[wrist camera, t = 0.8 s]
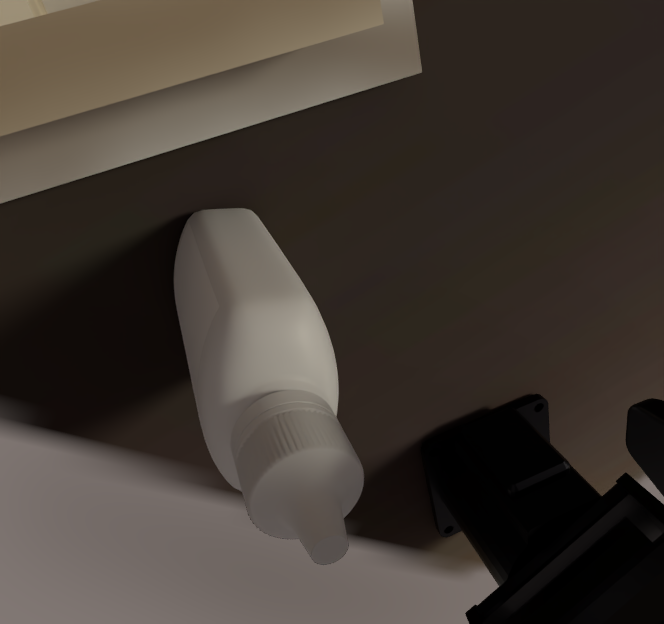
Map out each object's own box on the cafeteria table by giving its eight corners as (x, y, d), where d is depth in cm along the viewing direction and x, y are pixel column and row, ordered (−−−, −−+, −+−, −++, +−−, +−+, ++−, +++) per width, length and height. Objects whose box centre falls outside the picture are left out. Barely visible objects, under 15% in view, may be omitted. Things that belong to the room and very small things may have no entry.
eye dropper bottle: (129, 327, 20) (144, 651, 10) (202, 183, 19) (305, 388, 9) (241, 366, 22) (347, 666, 12) (314, 238, 21) (503, 456, 11)
